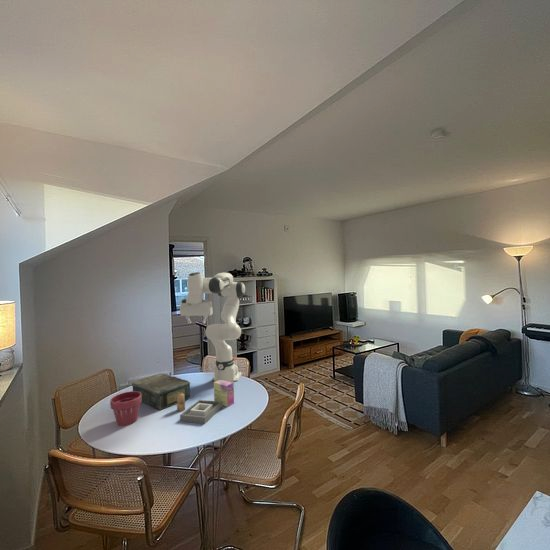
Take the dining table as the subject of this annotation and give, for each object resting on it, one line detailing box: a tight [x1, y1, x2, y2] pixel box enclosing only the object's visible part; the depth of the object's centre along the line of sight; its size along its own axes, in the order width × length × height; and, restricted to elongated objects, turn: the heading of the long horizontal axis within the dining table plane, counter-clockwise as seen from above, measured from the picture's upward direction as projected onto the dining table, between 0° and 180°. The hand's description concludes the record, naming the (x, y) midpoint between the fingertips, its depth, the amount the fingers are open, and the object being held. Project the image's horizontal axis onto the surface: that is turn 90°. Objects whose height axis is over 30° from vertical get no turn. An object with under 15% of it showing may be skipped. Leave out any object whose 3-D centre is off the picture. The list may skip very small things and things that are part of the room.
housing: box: [179, 399, 223, 425], centre depth 152 cm, size 18×14×4 cm
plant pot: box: [109, 390, 142, 427], centre depth 147 cm, size 14×14×13 cm
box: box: [213, 380, 235, 408], centre depth 164 cm, size 10×6×12 cm, turn 56°
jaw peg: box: [176, 394, 186, 412], centre depth 158 cm, size 4×4×8 cm
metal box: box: [131, 372, 191, 411], centre depth 175 cm, size 21×32×10 cm, turn 51°
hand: (196, 323), depth 170 cm, fingers open, 8 cm apart
